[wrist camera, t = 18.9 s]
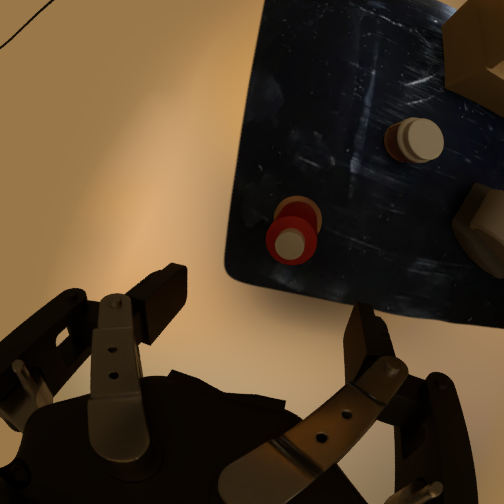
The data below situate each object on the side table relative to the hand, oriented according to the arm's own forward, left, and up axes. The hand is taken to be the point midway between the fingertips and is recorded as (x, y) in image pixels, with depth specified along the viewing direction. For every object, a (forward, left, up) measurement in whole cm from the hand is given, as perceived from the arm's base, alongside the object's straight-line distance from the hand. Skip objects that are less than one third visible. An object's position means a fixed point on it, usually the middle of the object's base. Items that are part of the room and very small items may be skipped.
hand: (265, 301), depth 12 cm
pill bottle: (+7, +14, -23) cm, 27 cm away
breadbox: (+16, +32, -23) cm, 42 cm away
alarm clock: (+25, +12, -23) cm, 36 cm away
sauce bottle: (0, -1, -22) cm, 22 cm away
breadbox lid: (+7, +29, -3) cm, 30 cm away
